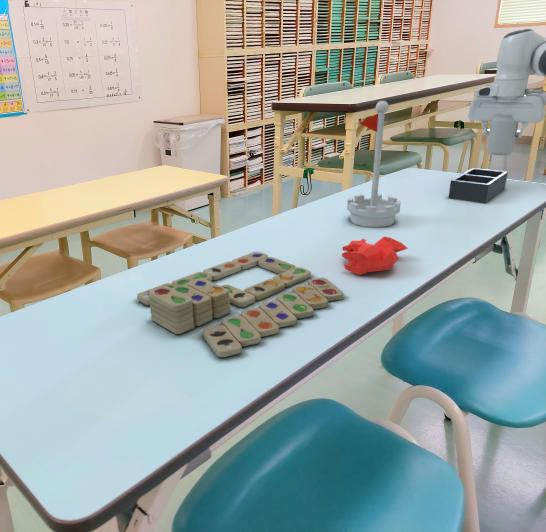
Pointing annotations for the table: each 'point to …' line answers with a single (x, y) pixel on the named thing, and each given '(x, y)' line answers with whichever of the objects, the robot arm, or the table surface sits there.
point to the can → (502, 135)
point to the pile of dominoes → (238, 302)
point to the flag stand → (374, 184)
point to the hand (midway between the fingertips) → (502, 136)
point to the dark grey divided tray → (478, 185)
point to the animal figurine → (372, 255)
